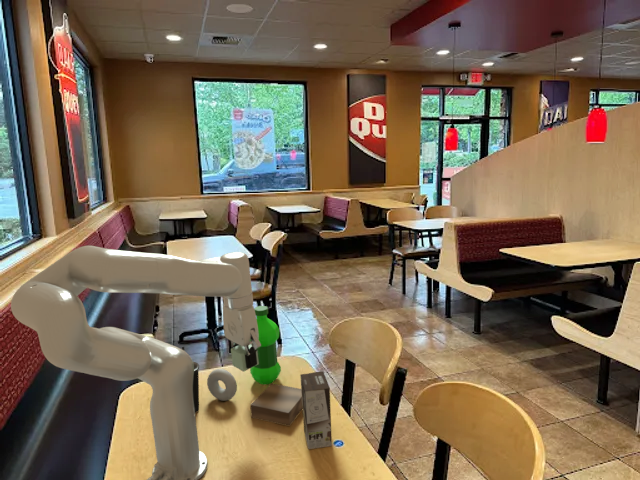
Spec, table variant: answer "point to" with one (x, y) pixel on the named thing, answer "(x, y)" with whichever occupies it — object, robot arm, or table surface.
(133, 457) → the table surface
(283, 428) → the table surface
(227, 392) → the donut
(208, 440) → the table surface
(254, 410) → the walnut plinth
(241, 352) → the green block
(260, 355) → the plastic bottle
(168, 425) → the robot arm
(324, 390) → the coffee box
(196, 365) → the drinking cup
